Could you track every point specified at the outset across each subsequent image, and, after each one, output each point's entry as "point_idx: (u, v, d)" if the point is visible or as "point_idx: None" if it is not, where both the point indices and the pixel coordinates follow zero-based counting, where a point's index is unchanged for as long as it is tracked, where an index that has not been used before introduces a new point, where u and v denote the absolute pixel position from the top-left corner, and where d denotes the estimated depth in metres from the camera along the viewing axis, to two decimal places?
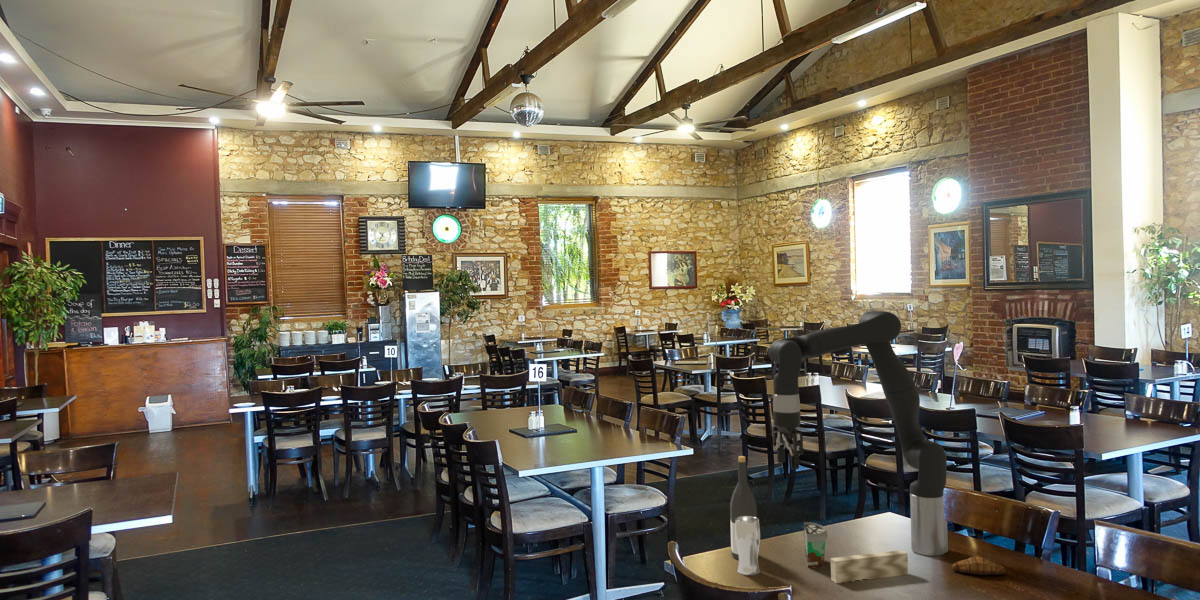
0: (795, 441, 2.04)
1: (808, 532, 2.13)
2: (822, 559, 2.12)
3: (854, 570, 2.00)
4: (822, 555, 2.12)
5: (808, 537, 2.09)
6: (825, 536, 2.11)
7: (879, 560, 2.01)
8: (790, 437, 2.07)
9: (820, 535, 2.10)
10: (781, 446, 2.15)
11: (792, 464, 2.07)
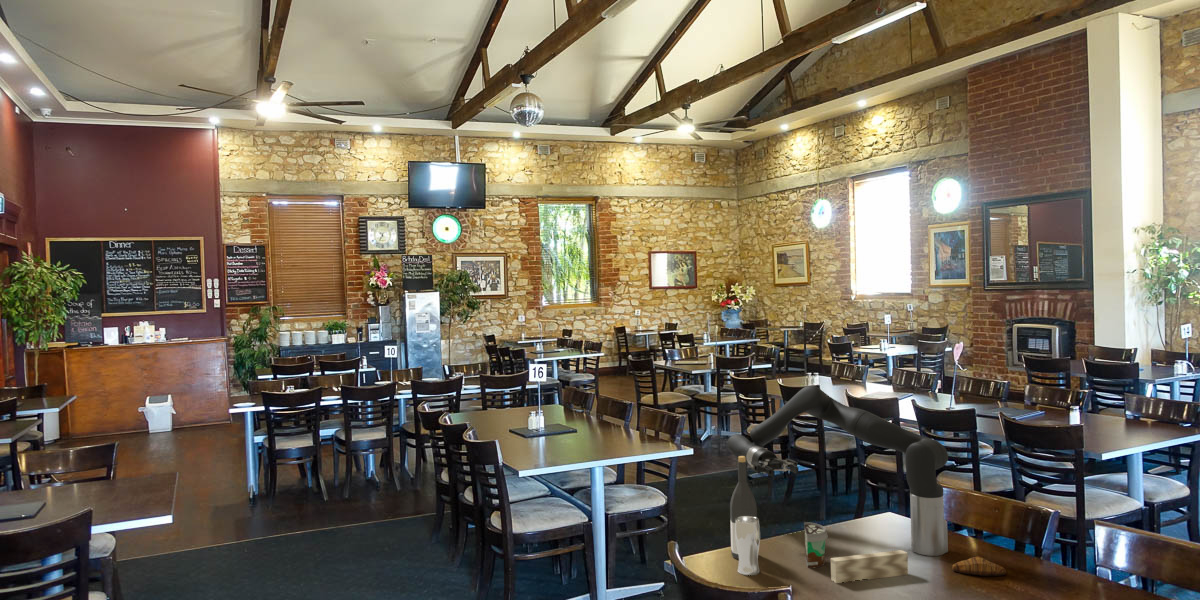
0: (753, 469, 2.38)
1: (808, 532, 2.13)
2: (822, 559, 2.12)
3: (854, 570, 2.00)
4: (822, 556, 2.12)
5: (808, 537, 2.09)
6: (825, 536, 2.11)
7: (879, 560, 2.01)
8: None
9: (820, 535, 2.10)
10: (789, 466, 2.37)
11: (769, 474, 2.32)
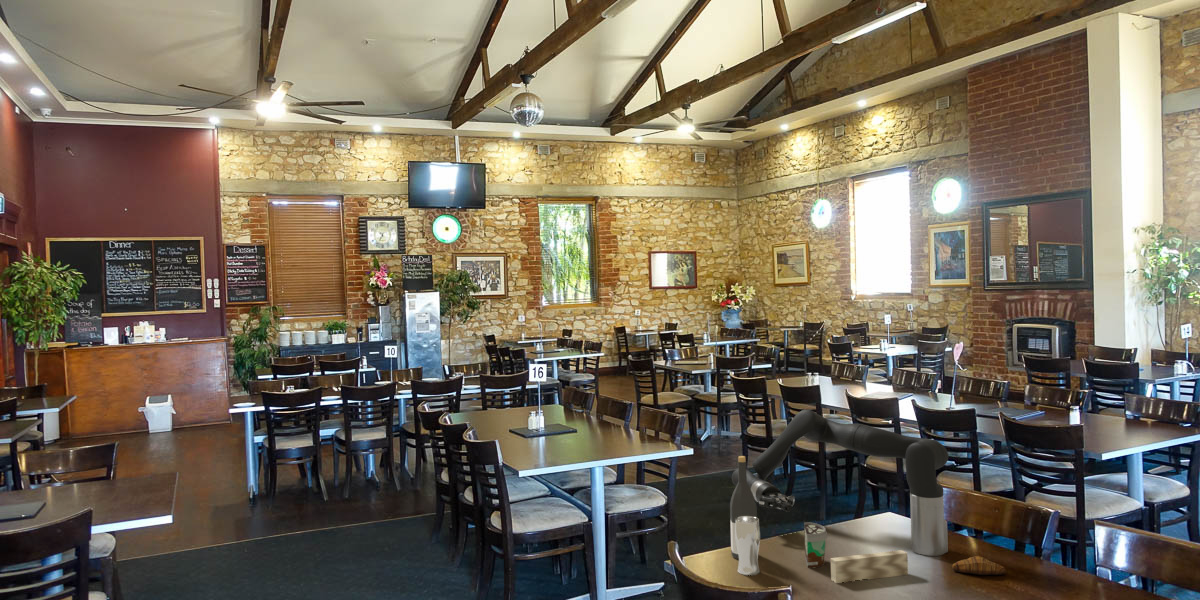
0: (764, 506, 2.37)
1: (808, 532, 2.13)
2: (822, 559, 2.12)
3: (854, 570, 2.00)
4: (822, 556, 2.12)
5: (808, 537, 2.09)
6: (825, 536, 2.11)
7: (879, 560, 2.01)
8: None
9: (820, 535, 2.10)
10: None
11: None
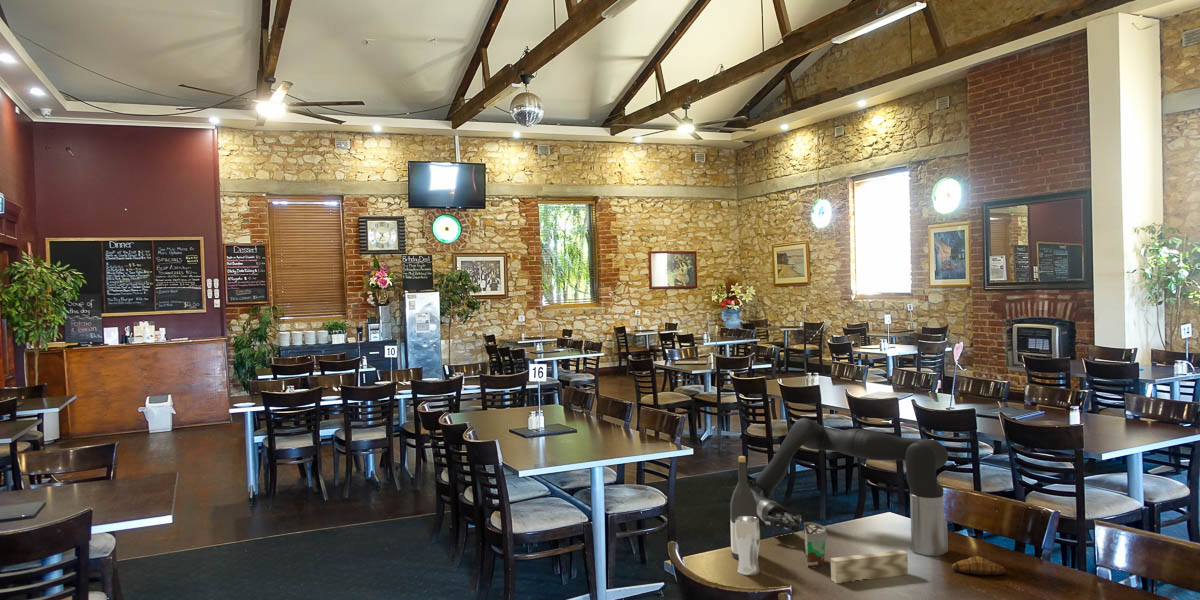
0: (771, 526, 2.33)
1: (808, 532, 2.13)
2: (822, 559, 2.12)
3: (854, 570, 2.00)
4: (822, 556, 2.12)
5: (808, 537, 2.09)
6: (825, 536, 2.11)
7: (879, 560, 2.01)
8: None
9: (820, 535, 2.10)
10: None
11: (792, 530, 2.28)
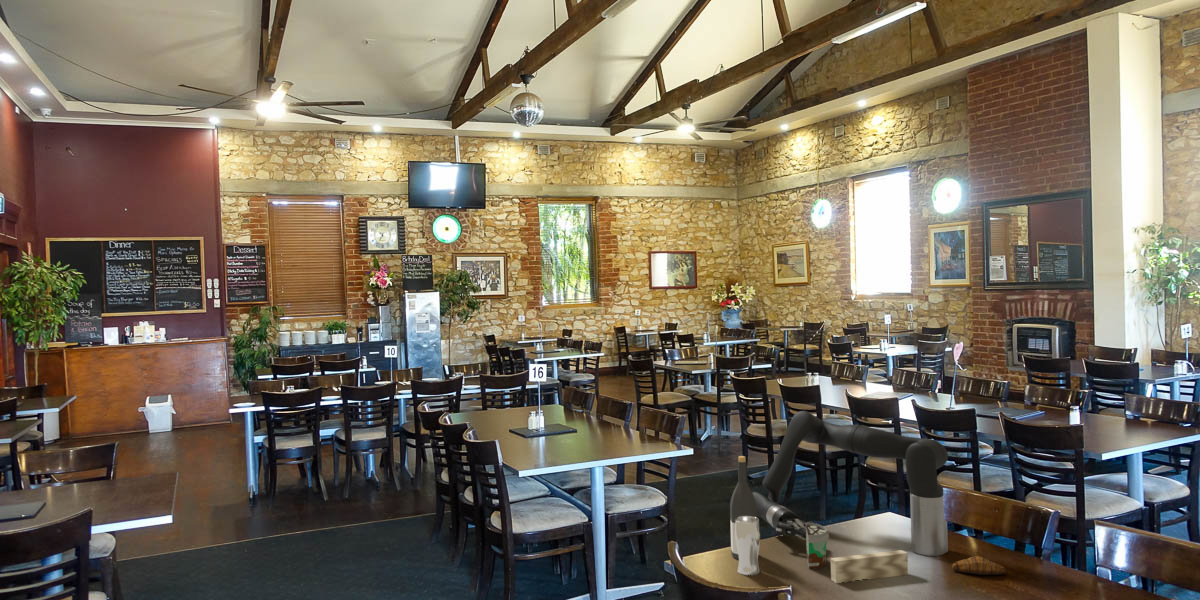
0: (782, 533, 2.25)
1: (809, 533, 2.12)
2: (823, 560, 2.11)
3: (854, 570, 2.00)
4: (823, 556, 2.11)
5: (809, 538, 2.08)
6: (826, 537, 2.10)
7: (879, 560, 2.01)
8: None
9: (821, 536, 2.09)
10: None
11: (804, 537, 2.20)
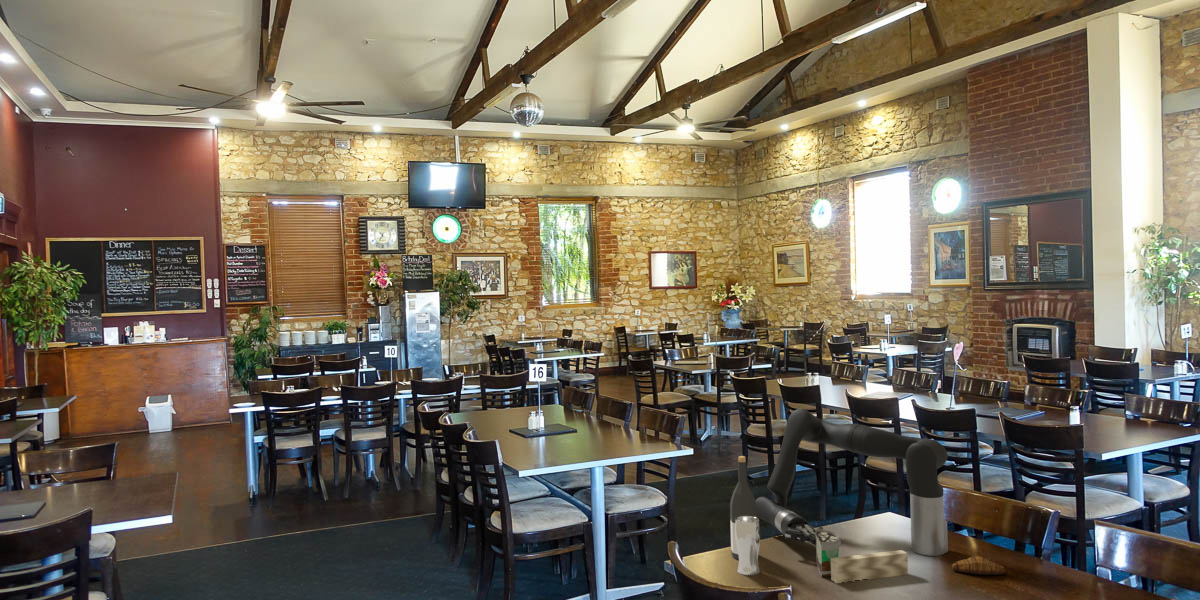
0: (791, 539, 2.19)
1: (821, 540, 2.06)
2: None
3: (854, 570, 2.00)
4: None
5: (823, 545, 2.02)
6: (839, 544, 2.04)
7: (879, 560, 2.01)
8: None
9: (835, 543, 2.03)
10: None
11: None
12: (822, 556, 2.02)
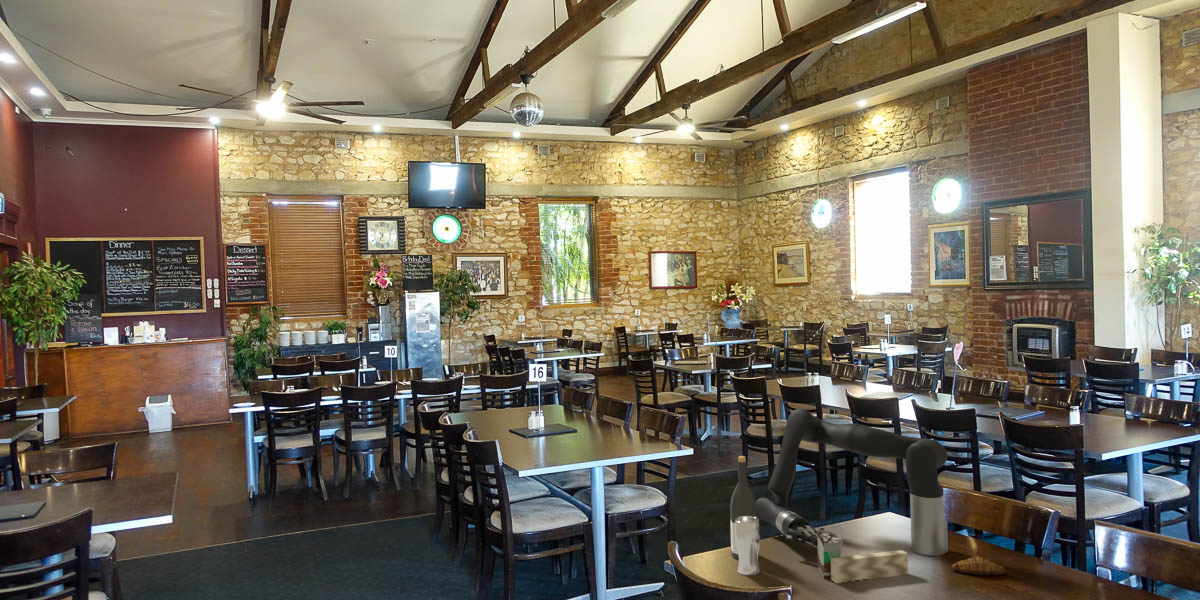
0: (792, 540, 2.18)
1: (823, 541, 2.05)
2: None
3: (854, 570, 2.00)
4: None
5: (825, 546, 2.01)
6: (841, 545, 2.03)
7: (879, 560, 2.01)
8: None
9: (837, 544, 2.02)
10: None
11: None
12: (824, 557, 2.02)
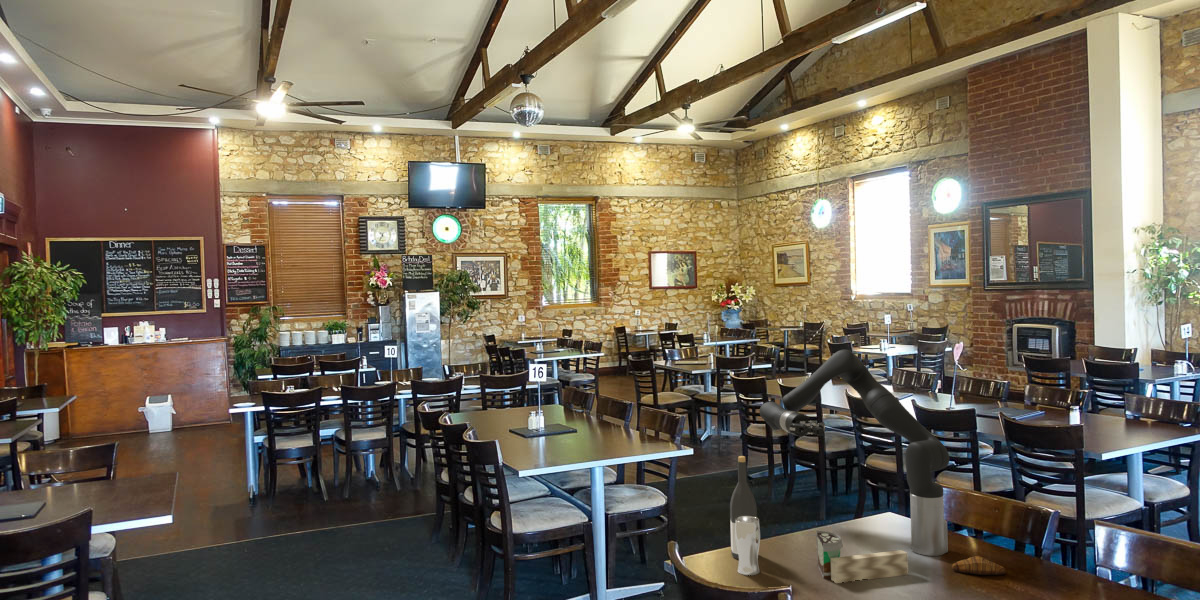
0: (795, 432, 2.36)
1: (823, 541, 2.05)
2: None
3: (854, 570, 2.00)
4: None
5: (824, 546, 2.01)
6: (841, 545, 2.03)
7: (879, 560, 2.01)
8: None
9: (836, 544, 2.02)
10: None
11: (817, 434, 2.31)
12: (824, 557, 2.02)
